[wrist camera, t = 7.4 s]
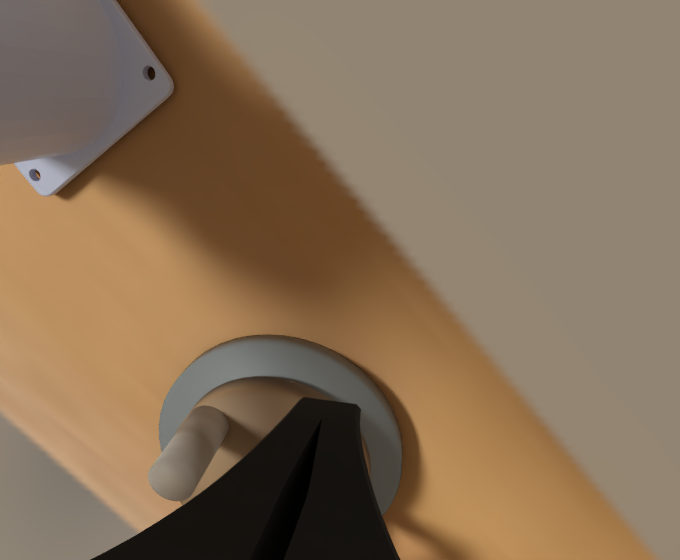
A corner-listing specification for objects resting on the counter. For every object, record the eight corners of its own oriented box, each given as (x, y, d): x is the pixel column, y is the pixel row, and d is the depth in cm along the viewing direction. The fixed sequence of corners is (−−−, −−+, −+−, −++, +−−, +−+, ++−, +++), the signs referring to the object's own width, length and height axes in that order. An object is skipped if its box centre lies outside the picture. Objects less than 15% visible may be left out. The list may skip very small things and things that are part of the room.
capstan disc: (208, 532, 26) (161, 628, 21) (161, 381, 23) (95, 454, 18) (382, 534, 24) (373, 640, 19) (356, 370, 21) (338, 448, 16)
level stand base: (122, 401, 25) (38, 487, 20) (308, 289, 21) (269, 357, 16) (261, 560, 28) (221, 676, 22) (449, 485, 24) (458, 603, 18)
